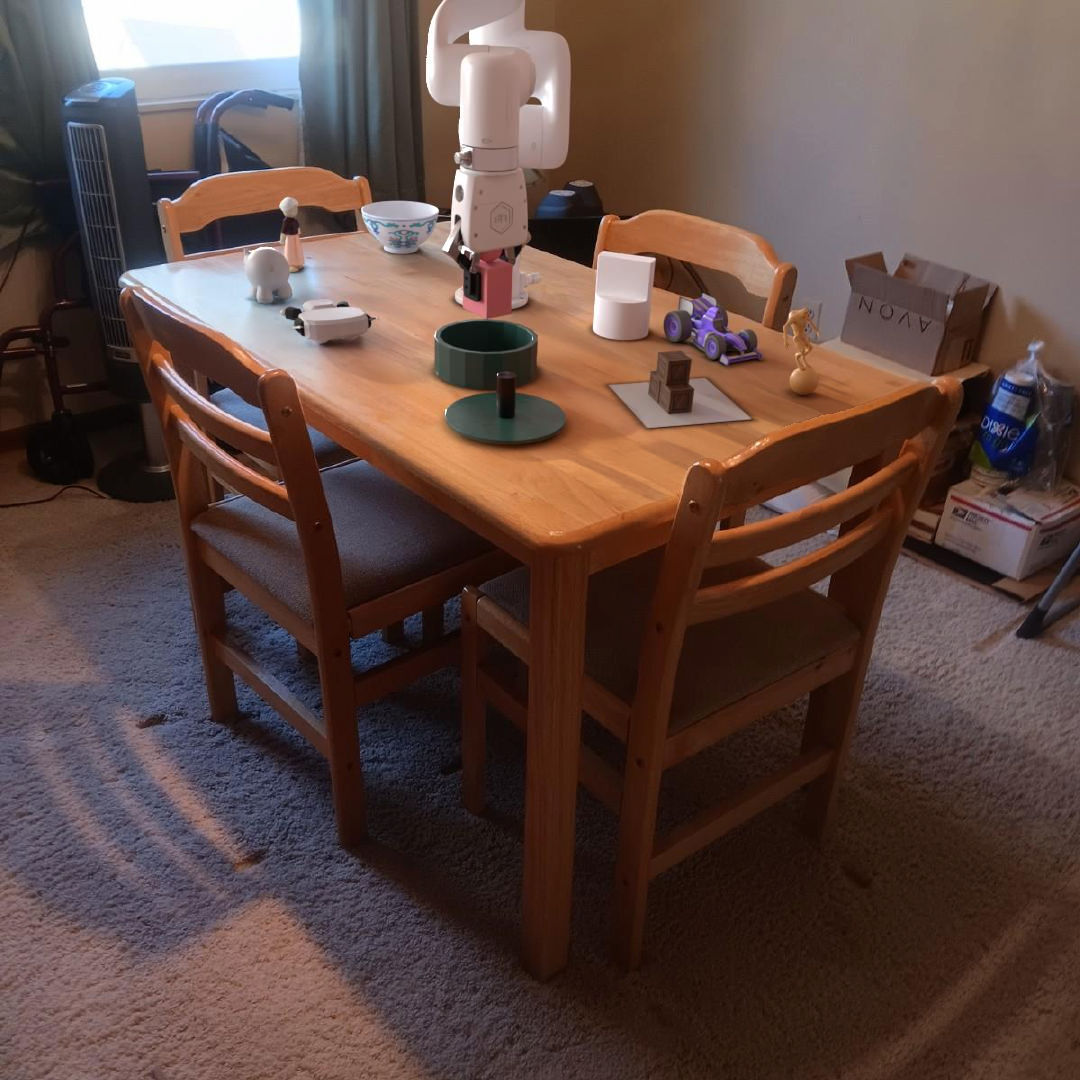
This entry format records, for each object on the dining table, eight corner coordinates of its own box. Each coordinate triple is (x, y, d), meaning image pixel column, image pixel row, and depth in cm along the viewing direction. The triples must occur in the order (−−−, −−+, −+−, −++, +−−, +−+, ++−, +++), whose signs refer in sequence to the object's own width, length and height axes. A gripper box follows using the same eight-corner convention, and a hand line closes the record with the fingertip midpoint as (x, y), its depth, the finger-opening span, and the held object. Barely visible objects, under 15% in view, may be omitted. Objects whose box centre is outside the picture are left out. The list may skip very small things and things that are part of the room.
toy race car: (720, 368, 151) (725, 326, 147) (661, 337, 162) (665, 297, 158) (768, 359, 155) (775, 317, 152) (708, 329, 166) (713, 290, 163)
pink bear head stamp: (487, 302, 145) (488, 221, 139) (511, 313, 141) (514, 230, 135) (461, 308, 142) (461, 225, 136) (485, 319, 138) (486, 235, 132)
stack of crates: (751, 419, 135) (759, 371, 131) (647, 428, 131) (652, 378, 127) (704, 378, 147) (710, 333, 143) (608, 385, 143) (612, 339, 139)
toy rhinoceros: (272, 283, 178) (267, 234, 173) (298, 301, 169) (294, 250, 165) (232, 288, 174) (226, 238, 170) (257, 307, 166) (252, 255, 161)
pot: (494, 346, 155) (495, 312, 152) (557, 376, 145) (559, 341, 142) (415, 365, 146) (414, 330, 144) (476, 398, 137) (476, 361, 134)
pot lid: (514, 390, 140) (516, 345, 136) (590, 429, 130) (594, 381, 126) (421, 416, 131) (420, 368, 128) (494, 459, 121) (495, 409, 117)
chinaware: (352, 255, 195) (350, 214, 191) (376, 236, 208) (374, 198, 204) (428, 262, 193) (427, 221, 189) (447, 243, 206) (446, 204, 202)
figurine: (796, 405, 140) (811, 321, 134) (760, 392, 143) (774, 309, 137) (829, 391, 145) (845, 309, 139) (794, 378, 148) (808, 298, 142)
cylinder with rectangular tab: (585, 334, 161) (590, 259, 155) (602, 318, 168) (607, 246, 162) (640, 343, 159) (647, 267, 153) (654, 326, 166) (661, 253, 160)
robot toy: (277, 328, 160) (302, 353, 148) (274, 300, 158) (299, 322, 146) (351, 320, 165) (382, 343, 153) (349, 292, 163) (380, 313, 151)
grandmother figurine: (300, 274, 183) (295, 202, 177) (279, 273, 183) (273, 201, 177) (309, 262, 190) (304, 193, 183) (289, 261, 190) (283, 192, 183)
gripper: (453, 170, 124) (453, 314, 133) (557, 157, 133) (550, 293, 143) (419, 159, 129) (421, 299, 138) (521, 148, 138) (517, 279, 148)
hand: (487, 294), depth 140 cm, fingers closed on pink bear head stamp, 4 cm apart
